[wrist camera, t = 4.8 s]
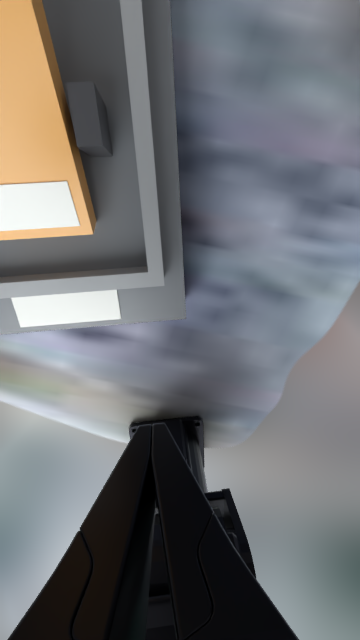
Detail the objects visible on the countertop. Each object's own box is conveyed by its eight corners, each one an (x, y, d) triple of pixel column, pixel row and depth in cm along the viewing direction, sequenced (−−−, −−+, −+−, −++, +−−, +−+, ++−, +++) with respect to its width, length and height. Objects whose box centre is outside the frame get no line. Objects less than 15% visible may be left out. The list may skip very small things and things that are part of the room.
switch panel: (181, 302, 20) (191, 339, 15) (-17, 318, 19) (-83, 363, 14) (157, -131, 12) (160, -404, 6) (-189, -134, 11) (-509, -447, 6)
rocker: (96, 221, 14) (93, 235, 13) (-1, 227, 14) (-12, 241, 13) (23, -72, 8) (6, -90, 7) (-157, -71, 8) (-203, -90, 7)
